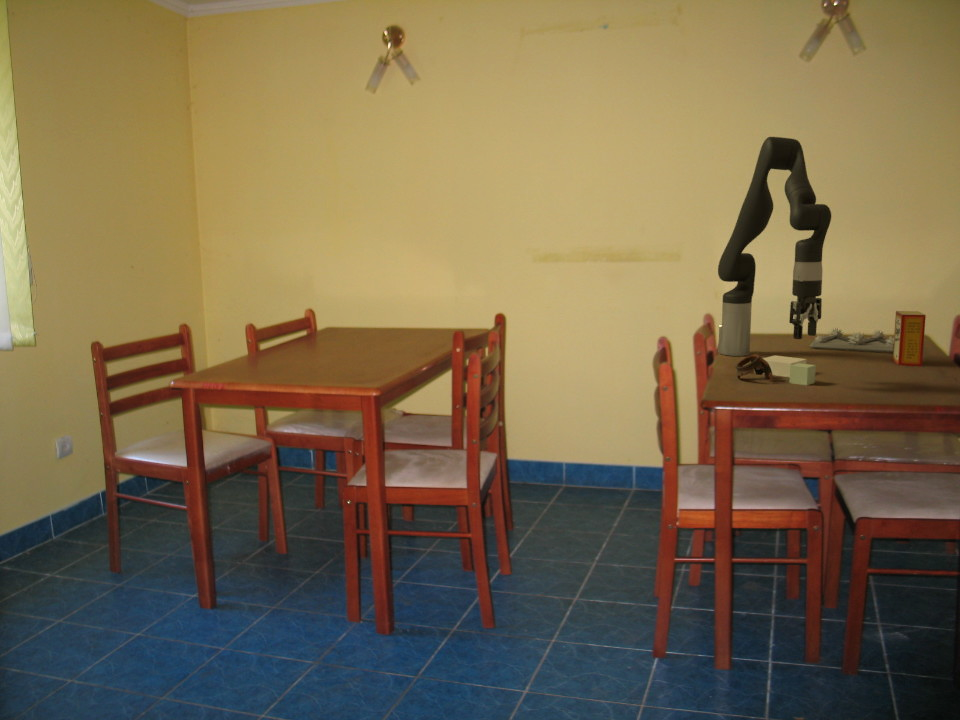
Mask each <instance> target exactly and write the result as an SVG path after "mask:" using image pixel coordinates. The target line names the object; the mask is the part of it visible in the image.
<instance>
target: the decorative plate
mask: <svg viewBox="0 0 960 720" xmlns="http://www.w3.org/2000/svg"><path fill="white" fill-rule="evenodd" d="M842 331H843V330H842V329H839V327H835V328H834V327H832V329H831V330H830V331H828V332H829V333H828V335H823V334H820V335H819V334H817V335H816V337H814V340H813V341H812V342H811V343H810V344H809V345H808V347H809V348H810V349H811V348H819V349H818V350H827V349H836V350H835V351H844V350H853V351H852V352H862V351H870V352H869V353H880V352H889V353H888V354H893V347H894V336H891V335H889V337H888V338H885V335H886V333H885V331H881V330H875V331H874V332H873V333H872V336H871V337H866V334H865V332H863V333H862V334H861V332H855V331H853V332H852V333H851V334H849V335H848V336H844V332H842Z"/></svg>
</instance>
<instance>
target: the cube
mask: <svg viewBox="0 0 960 720" xmlns="http://www.w3.org/2000/svg"><path fill="white" fill-rule="evenodd" d="M816 366H817V365H815V364H808V363H806V364H801V363H797V364H794V365H790V377H789V384H794V385H801V386H810V385H812V384H815V383H816V369H817V367H816Z"/></svg>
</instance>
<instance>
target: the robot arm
mask: <svg viewBox="0 0 960 720" xmlns="http://www.w3.org/2000/svg"><path fill="white" fill-rule="evenodd" d="M758 153H759V154H758V157H757V161H756V165H755V168H754V173H753V176H752V179H751V182H750V184H749V187H748V190H747V193H746V195H745V198H744V200H743V203H742V205H741V208H740V210H739V213H738V216H737V220H736V223H735V226H734V229H733V231H732V233H731V235H730V238H729V239H728V242H727V244H726V246H725V248H724V250H723V252H722V254H721V256H720V259H719V262H718V266H717V275H718V278H719V280H721V281H723V282H726V283H731V282H732V283H735V282H737V283H736V286H735V287H734V288H731V289H730V290H728V291H726V292H724V293H723V295H722V307H721V308H722V309H721V312H722V313H721V324H720V325H718V348H717V350H718V351H717V353H718V354H722V355H724V356H733V357H735V356H736V357H743V356H748V355H749V356H750V353H751V329H752V328H751V327H752V326H751V325H752V303H753V302H752V301H753V296H754V290H755V279H756V265H757V264H756V260H755V258H754V255H752V254H751V253H749V252H743V251H744V250H745V249H746V247H748V245H749V244H751V243H752V242H753V241H754V240H755V239H756V238H757V237H758V236H760V235H761V233H763V231H765V229H767V226H768V225H769V223H770V219H771V217H772V214H773V211H774V201H773V197H772V193H771V192H770V188H769V185H768V177H769V173H770V171H771V170H778V171H789V172H790V174H789V176H788V177H787V179H786V180H785V183H784V194H785V196H786V199H787V202H788V204H789V225H790V226H791V228H792V229H793V230H796V231H799V232H800V231H802V232H803V231H813V233H812V235H810V237H808V238H805V239H800V240H797V241H796V242H795V248H794V262H793V263H794V264H793V268H792V269H793V271H792V289H791V290H792V291H791V292H792V293H791V294H792V295H793V296H794V297H797V299H796V301H793V300H792V301H790V306H789V307H790V309H789V319H788V320H789V321H788V322H789V324H791V325H793V337H792V338H793V339H794V340H802V339H803V330H804V329H803V327H804V326H803V325H804V322H805V320H806V319H807V320H808V322H807V335H808V336H811V337H814V336H817V328H818V327H817V325H818V324H817V323H818V322H819V320H821V319H822V307H823V306H822V305H823V304H822V302H823V300H822V297H820V296H821V295H822V292H823V291H822V290H823V287H822V286H823V250H824V249H823V248H824V243H825V240H826V236H827V233H828V229H829V227H830V224H831V221H832V211H831V208H830V207H829V206H828V205H827V204H824V203H820V204H819V203H817V196H816V194H815V192H814V189H813V187H812V185H811V183H810V180H809V176H808V172H807V168H806V167H807V166H806V160H805V155H804V150H803V147H802V144H801V142H800V141H799V140H798V139H795V138H788V137H781V136H780V137H779V136H768V137H766V138H765V140H763V143H762V145H761V147H760V150H759V152H758Z"/></svg>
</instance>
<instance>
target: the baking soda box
mask: <svg viewBox="0 0 960 720" xmlns="http://www.w3.org/2000/svg"><path fill="white" fill-rule="evenodd" d="M926 316H927V315H926V314H925V313H923V312H921V311H917V310H914V311H913V310H911V311H910V310H896V311H895V319H894V321H895V322H894V333H893V334H894V335H893V337H894V347H893V353H892V361H893V362H894V363H895V364H896V365H897V364H898V365H897V366H899V365H902V366H904V365H905V366H904V367H906V366H907V367H923V357H924V341H925V331H926V329H925V328H926V318H927V317H926ZM902 366H901V367H902Z"/></svg>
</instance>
